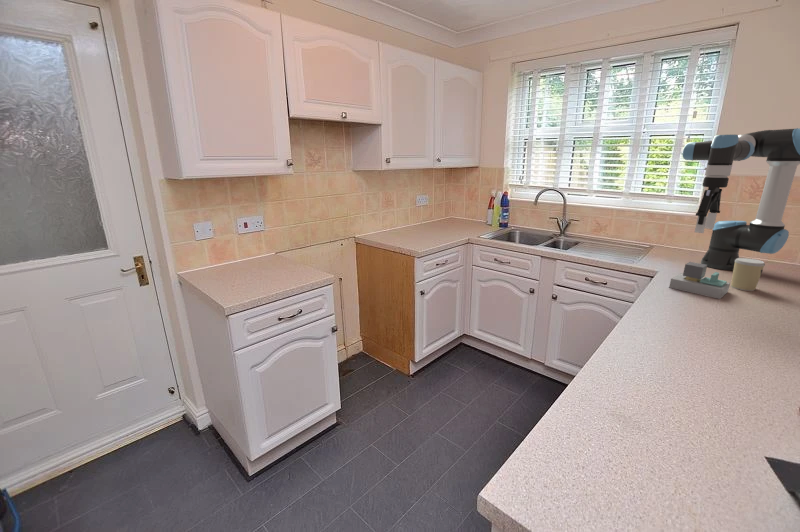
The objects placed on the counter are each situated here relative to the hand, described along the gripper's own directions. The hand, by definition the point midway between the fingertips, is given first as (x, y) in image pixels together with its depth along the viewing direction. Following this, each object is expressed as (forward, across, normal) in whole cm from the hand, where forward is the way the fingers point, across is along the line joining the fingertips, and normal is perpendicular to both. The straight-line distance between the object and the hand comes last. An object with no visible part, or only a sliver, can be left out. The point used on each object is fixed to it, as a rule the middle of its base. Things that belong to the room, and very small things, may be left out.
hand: (704, 230), depth 150 cm
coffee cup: (+25, -18, +14) cm, 34 cm away
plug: (+24, 0, 0) cm, 24 cm away
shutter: (+20, 0, +7) cm, 22 cm away
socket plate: (+25, 0, +2) cm, 25 cm away
